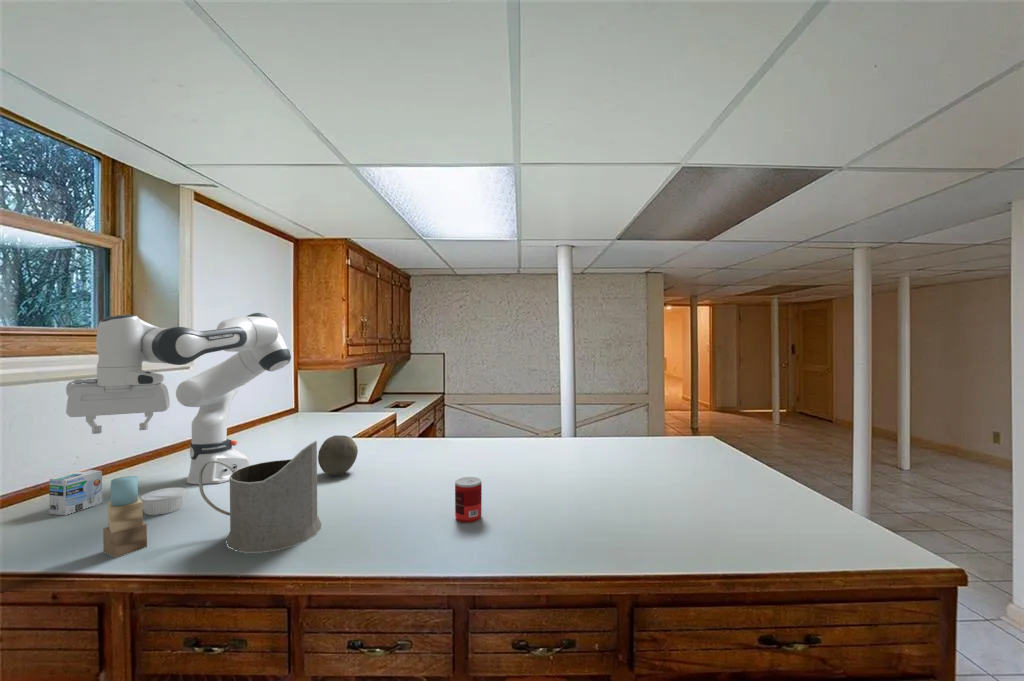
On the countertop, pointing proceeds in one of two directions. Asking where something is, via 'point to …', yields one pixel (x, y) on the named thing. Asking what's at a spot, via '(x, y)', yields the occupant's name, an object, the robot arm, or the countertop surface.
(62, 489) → the light bulb box
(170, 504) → the ramekin
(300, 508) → the pitcher
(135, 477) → the teal tapered block
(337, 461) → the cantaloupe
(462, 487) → the canned food
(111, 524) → the oak block
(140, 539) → the walnut block
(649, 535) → the countertop surface
